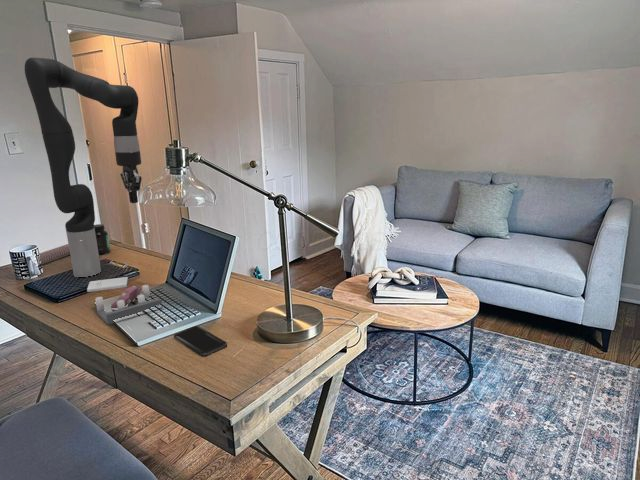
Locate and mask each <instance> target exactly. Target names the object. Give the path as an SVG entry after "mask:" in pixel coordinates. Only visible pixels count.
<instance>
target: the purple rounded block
mask: <svg viewBox="0 0 640 480" xmlns="http://www.w3.org/2000/svg"><path fill="white" fill-rule="evenodd" d="M141 292H142V287H140V286H135V285H132V286H130V287H126V288H125V290H124V291H123V293H121V294H120V295H119V297H118V298H117V299H116V300H115V301H113V302H112V303H111V305H110V309H111V308H118V306H117V301H118V300H124V303H125V306H126V305H127V304H129V303H130V302H131V301H133V300H134V299H135V298H138V297H137V296H138V295H140V294H141ZM135 300H136V299H135ZM130 304H131V303H130ZM130 304H129V305H130Z"/></svg>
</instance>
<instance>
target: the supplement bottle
mask: <svg viewBox="0 0 640 480" xmlns="http://www.w3.org/2000/svg"><path fill="white" fill-rule="evenodd" d="M94 228H95V235H96V241H97V247H98V254H99V256H103V255H104V256H105V255H107V254H109V253H110V252H111V246H110V239H109V233H108V231H107V230H106V229H105V225H104V224H103V223H102V224H100V223H98V224H94Z"/></svg>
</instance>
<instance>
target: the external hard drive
mask: <svg viewBox="0 0 640 480" xmlns="http://www.w3.org/2000/svg"><path fill="white" fill-rule="evenodd" d="M128 283H129V277H128V276H124V277H123V276H122V277H115V278H107V279H99V280H93V281H92V280H91V281H89V283H88V286H87V288H86V292H87V293H91V292H99V291H106V290H107V291H108V290H113V289H114V290H115V289H123V288H128Z"/></svg>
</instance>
